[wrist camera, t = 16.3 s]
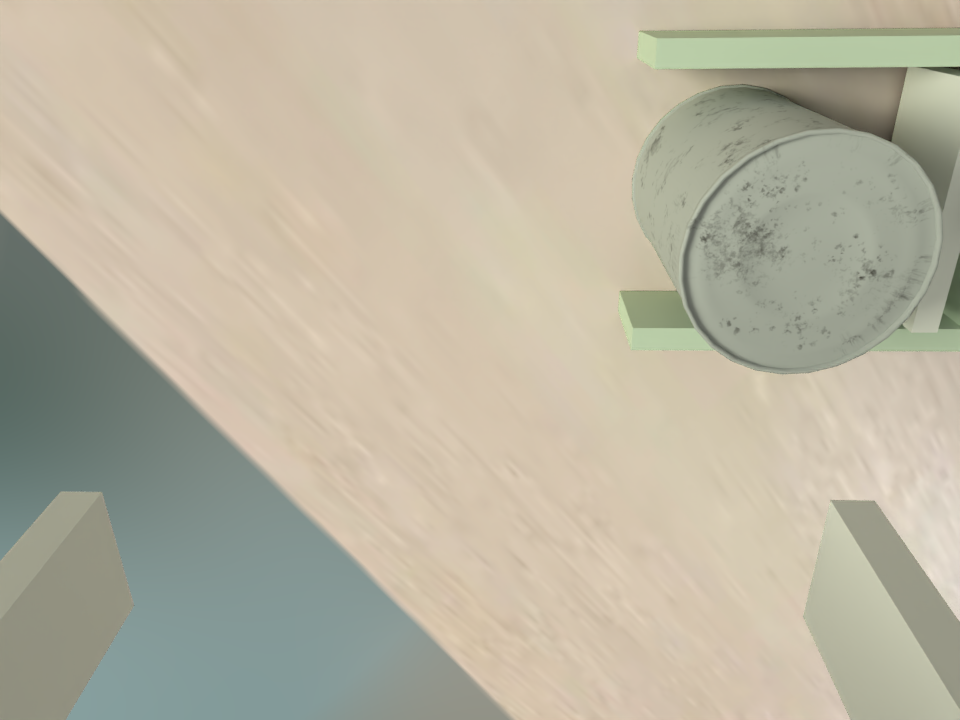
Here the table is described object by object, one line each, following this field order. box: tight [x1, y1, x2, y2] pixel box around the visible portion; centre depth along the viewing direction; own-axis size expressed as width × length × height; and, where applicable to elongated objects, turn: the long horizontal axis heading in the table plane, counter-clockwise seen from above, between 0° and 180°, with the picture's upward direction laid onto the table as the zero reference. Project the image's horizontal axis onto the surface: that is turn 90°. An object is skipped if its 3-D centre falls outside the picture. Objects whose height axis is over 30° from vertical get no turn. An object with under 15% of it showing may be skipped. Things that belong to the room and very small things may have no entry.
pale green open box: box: [618, 28, 960, 351], centre depth 37 cm, size 17×14×5 cm
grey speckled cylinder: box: [632, 84, 943, 374], centre depth 34 cm, size 10×10×12 cm
